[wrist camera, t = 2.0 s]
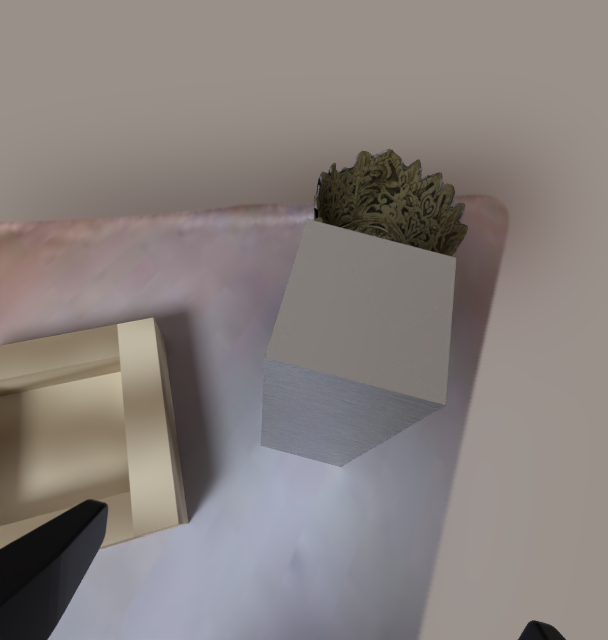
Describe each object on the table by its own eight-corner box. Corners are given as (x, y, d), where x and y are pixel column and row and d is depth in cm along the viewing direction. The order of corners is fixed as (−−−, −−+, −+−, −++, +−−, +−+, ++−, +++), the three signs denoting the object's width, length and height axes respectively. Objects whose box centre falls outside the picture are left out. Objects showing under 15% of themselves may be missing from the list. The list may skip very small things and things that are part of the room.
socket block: (189, 523, 19) (178, 524, 17) (-44, 591, 17) (-100, 605, 15) (165, 340, 23) (153, 317, 21) (-26, 377, 21) (-67, 357, 19)
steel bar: (341, 467, 21) (445, 405, 9) (260, 445, 21) (264, 357, 9) (355, 388, 23) (456, 257, 11) (282, 369, 23) (307, 218, 11)
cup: (371, 229, 28) (410, 133, 21) (432, 311, 26) (499, 233, 19) (279, 266, 26) (287, 171, 19) (336, 359, 23) (370, 291, 16)
